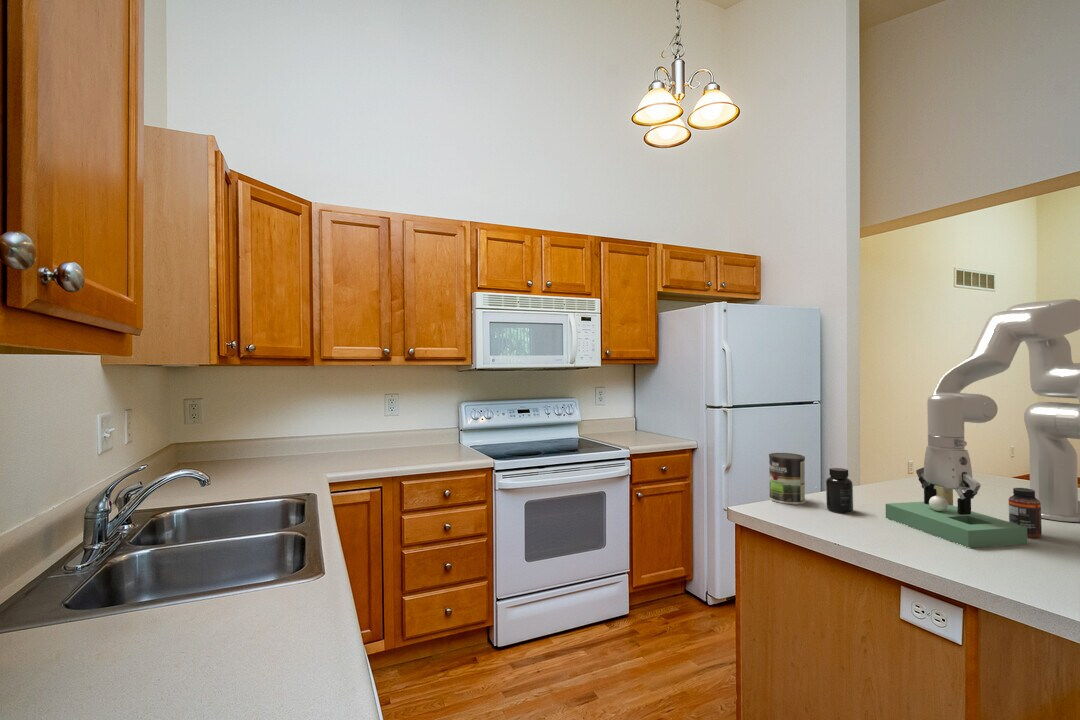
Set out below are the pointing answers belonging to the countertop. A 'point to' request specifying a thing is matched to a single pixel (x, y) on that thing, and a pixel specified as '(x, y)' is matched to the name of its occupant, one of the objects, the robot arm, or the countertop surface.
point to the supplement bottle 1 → (839, 491)
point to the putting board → (958, 525)
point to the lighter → (945, 493)
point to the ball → (938, 503)
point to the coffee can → (787, 478)
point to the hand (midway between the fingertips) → (946, 508)
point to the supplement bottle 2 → (1026, 511)
